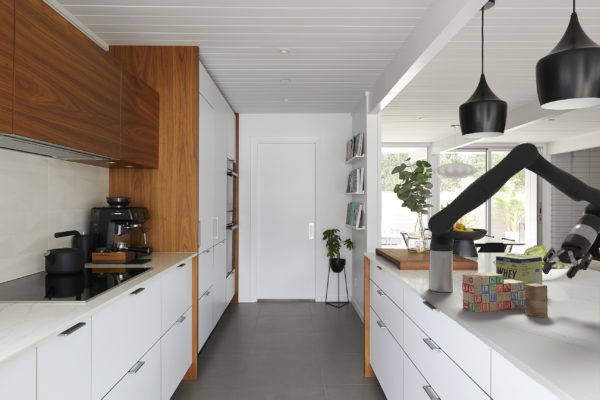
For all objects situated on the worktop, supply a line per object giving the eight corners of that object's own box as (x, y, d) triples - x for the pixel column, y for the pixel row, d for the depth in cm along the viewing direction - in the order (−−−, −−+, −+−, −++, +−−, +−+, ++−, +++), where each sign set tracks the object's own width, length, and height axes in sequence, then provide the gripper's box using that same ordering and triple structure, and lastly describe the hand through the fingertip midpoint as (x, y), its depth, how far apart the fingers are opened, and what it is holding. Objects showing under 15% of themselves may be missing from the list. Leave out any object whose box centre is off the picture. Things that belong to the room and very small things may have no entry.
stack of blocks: (511, 304, 142) (511, 270, 143) (525, 308, 136) (525, 273, 137) (462, 307, 137) (461, 273, 137) (474, 312, 131) (474, 276, 131)
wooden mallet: (510, 309, 134) (510, 281, 134) (521, 308, 135) (520, 280, 136) (536, 317, 124) (535, 286, 125) (547, 316, 126) (547, 285, 126)
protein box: (495, 293, 160) (495, 256, 160) (518, 289, 167) (518, 253, 167) (519, 298, 150) (519, 259, 151) (543, 294, 158) (542, 256, 158)
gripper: (554, 231, 140) (531, 264, 136) (595, 234, 127) (571, 270, 123) (565, 245, 142) (542, 278, 138) (606, 249, 128) (583, 286, 124)
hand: (556, 274), depth 130 cm, fingers open, 8 cm apart
